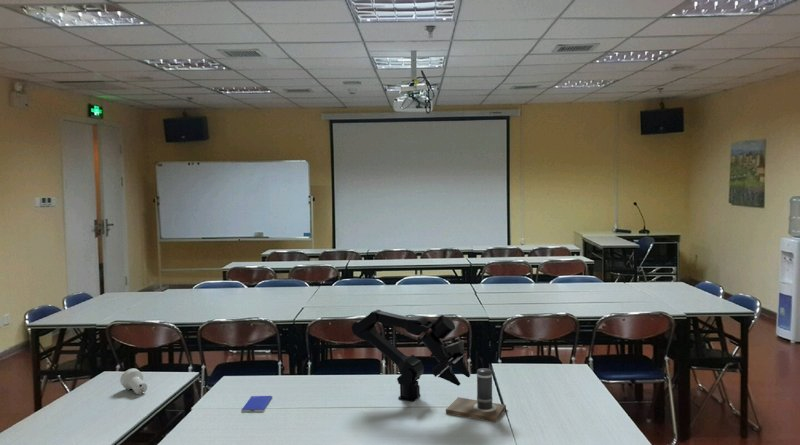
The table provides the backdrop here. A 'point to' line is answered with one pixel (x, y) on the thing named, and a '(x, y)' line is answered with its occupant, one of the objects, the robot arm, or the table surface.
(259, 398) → the blue book
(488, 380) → the dark grey cylinder
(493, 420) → the mount board
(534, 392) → the table surface
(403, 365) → the robot arm
